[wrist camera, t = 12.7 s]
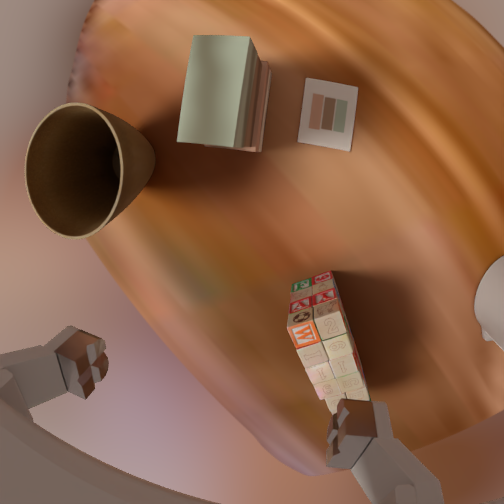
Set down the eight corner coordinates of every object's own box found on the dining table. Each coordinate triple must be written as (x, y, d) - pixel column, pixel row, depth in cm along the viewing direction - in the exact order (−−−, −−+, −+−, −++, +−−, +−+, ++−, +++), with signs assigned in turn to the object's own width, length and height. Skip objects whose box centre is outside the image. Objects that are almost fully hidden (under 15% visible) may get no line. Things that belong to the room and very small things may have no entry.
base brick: (271, 73, 36) (267, 61, 30) (261, 151, 40) (255, 152, 34) (227, 70, 37) (216, 58, 31) (217, 146, 40) (204, 146, 35)
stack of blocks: (365, 375, 49) (376, 426, 37) (331, 385, 50) (335, 437, 39) (330, 268, 44) (340, 310, 32) (290, 283, 45) (286, 328, 34)
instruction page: (358, 87, 35) (358, 87, 35) (349, 151, 38) (350, 151, 38) (305, 77, 36) (305, 77, 35) (297, 142, 39) (297, 142, 38)
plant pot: (102, 213, 46) (35, 242, 31) (93, 123, 41) (20, 122, 26) (186, 206, 44) (131, 236, 29) (177, 103, 39) (116, 85, 24)
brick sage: (257, 53, 26) (249, 36, 21) (243, 147, 29) (233, 147, 25) (209, 50, 26) (193, 35, 22) (195, 142, 30) (176, 141, 25)
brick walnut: (262, 64, 31) (256, 52, 26) (251, 147, 34) (243, 146, 29) (219, 62, 31) (208, 50, 26) (208, 142, 34) (195, 141, 30)
